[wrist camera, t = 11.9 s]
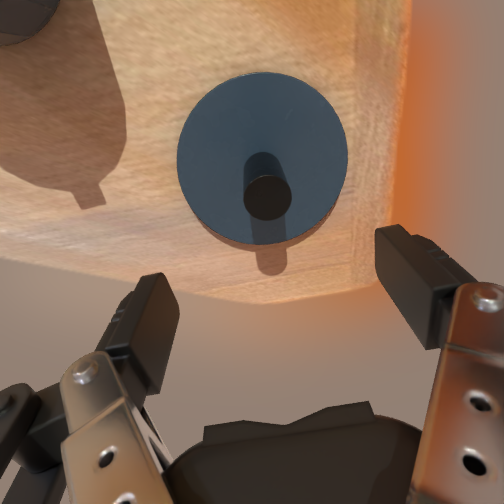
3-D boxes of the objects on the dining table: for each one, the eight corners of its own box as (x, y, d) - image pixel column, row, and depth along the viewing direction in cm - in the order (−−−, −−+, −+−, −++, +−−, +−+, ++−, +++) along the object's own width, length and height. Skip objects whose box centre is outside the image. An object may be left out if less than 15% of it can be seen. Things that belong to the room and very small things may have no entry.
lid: (337, 49, 20) (376, 39, 14) (348, 222, 27) (378, 265, 21) (152, 99, 22) (116, 109, 16) (208, 252, 28) (198, 300, 22)
